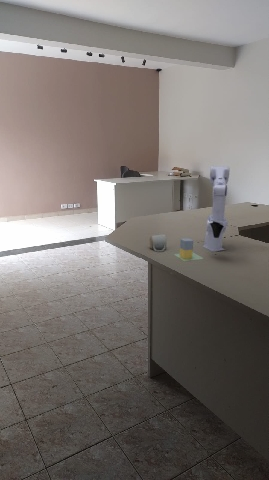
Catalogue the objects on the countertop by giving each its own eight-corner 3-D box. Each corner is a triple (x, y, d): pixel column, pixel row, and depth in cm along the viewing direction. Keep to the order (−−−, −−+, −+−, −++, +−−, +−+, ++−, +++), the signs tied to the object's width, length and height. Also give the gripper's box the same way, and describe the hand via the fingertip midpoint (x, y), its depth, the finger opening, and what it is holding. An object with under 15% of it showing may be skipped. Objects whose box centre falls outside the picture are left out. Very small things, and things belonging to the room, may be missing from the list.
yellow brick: (179, 256, 181) (180, 247, 180) (187, 255, 183) (188, 246, 182) (183, 259, 177) (184, 250, 176) (192, 258, 179) (192, 249, 178)
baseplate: (173, 255, 185) (173, 254, 185) (192, 252, 189) (192, 252, 188) (183, 261, 175) (183, 261, 175) (203, 259, 179) (203, 258, 178)
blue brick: (180, 247, 180) (180, 238, 179) (188, 246, 182) (188, 238, 180) (184, 250, 176) (185, 241, 175) (192, 249, 178) (193, 240, 176)
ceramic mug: (149, 246, 198) (149, 233, 196) (163, 246, 199) (164, 232, 197) (152, 253, 188) (152, 238, 186) (168, 252, 189) (168, 238, 187)
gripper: (203, 207, 180) (201, 234, 184) (219, 213, 167) (217, 242, 170) (215, 207, 182) (213, 233, 186) (232, 212, 169) (230, 240, 173)
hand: (216, 237), depth 178 cm, fingers closed
